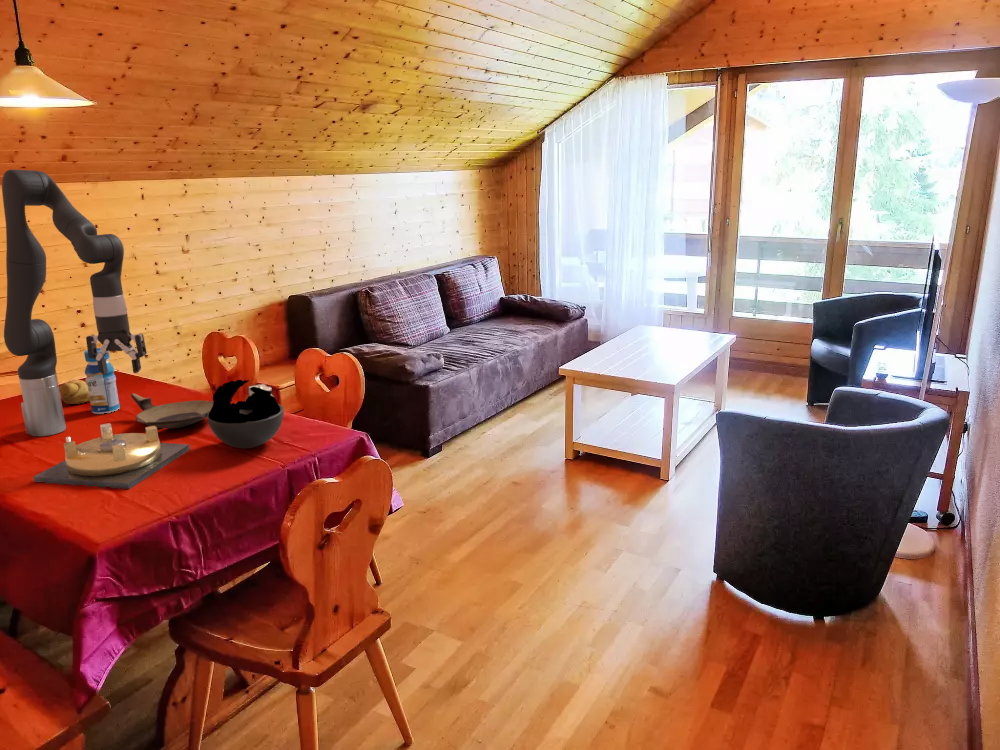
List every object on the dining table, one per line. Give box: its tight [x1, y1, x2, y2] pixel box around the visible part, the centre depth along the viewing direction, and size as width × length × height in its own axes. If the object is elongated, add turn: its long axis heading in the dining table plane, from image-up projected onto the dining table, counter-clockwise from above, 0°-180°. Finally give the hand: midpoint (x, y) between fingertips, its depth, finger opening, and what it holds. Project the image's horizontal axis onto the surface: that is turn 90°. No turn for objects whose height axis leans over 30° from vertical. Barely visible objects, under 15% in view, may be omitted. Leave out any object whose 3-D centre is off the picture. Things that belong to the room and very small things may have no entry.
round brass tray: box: [63, 422, 161, 476], centre depth 190 cm, size 22×22×6 cm
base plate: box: [32, 436, 191, 490], centre depth 191 cm, size 26×26×8 cm
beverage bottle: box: [84, 347, 121, 415], centre depth 232 cm, size 8×8×20 cm
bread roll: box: [59, 379, 90, 405], centre depth 244 cm, size 13×10×8 cm
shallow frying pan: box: [130, 393, 214, 430], centre depth 223 cm, size 22×30×8 cm
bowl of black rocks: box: [206, 379, 285, 449], centre depth 202 cm, size 20×20×19 cm
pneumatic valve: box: [247, 383, 276, 399], centre depth 221 cm, size 6×12×12 cm, turn 32°
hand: (120, 372), depth 195 cm, fingers open, 8 cm apart
